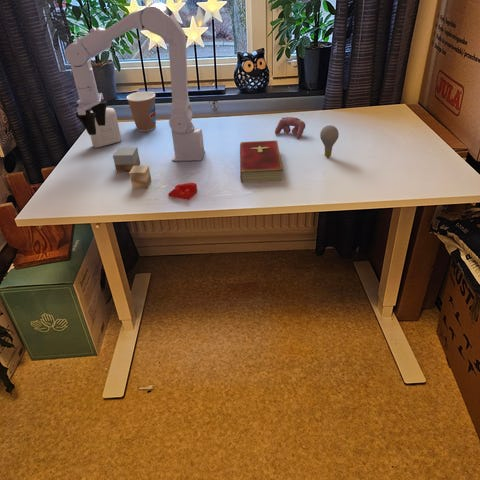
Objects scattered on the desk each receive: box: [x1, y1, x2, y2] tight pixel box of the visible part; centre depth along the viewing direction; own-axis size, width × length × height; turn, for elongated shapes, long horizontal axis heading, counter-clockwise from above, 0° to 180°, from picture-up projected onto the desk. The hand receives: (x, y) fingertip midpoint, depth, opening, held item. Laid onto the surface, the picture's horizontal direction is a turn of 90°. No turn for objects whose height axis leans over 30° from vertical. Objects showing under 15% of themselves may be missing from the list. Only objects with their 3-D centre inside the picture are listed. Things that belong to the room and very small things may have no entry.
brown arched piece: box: [274, 116, 306, 140], centre depth 152 cm, size 10×5×7 cm, turn 58°
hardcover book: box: [239, 139, 284, 183], centre depth 134 cm, size 12×21×4 cm, turn 0°
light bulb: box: [319, 124, 340, 158], centre depth 134 cm, size 6×5×10 cm
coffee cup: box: [126, 91, 157, 132], centre depth 162 cm, size 10×10×12 cm
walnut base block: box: [114, 156, 141, 174], centre depth 137 cm, size 6×6×3 cm
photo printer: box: [89, 107, 122, 149], centre depth 151 cm, size 10×4×12 cm, turn 123°
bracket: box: [167, 182, 198, 201], centre depth 122 cm, size 6×5×3 cm
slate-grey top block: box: [112, 146, 140, 166], centre depth 135 cm, size 6×6×3 cm
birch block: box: [128, 165, 152, 189], centre depth 127 cm, size 4×4×5 cm
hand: (97, 129), depth 138 cm, fingers open, 7 cm apart
